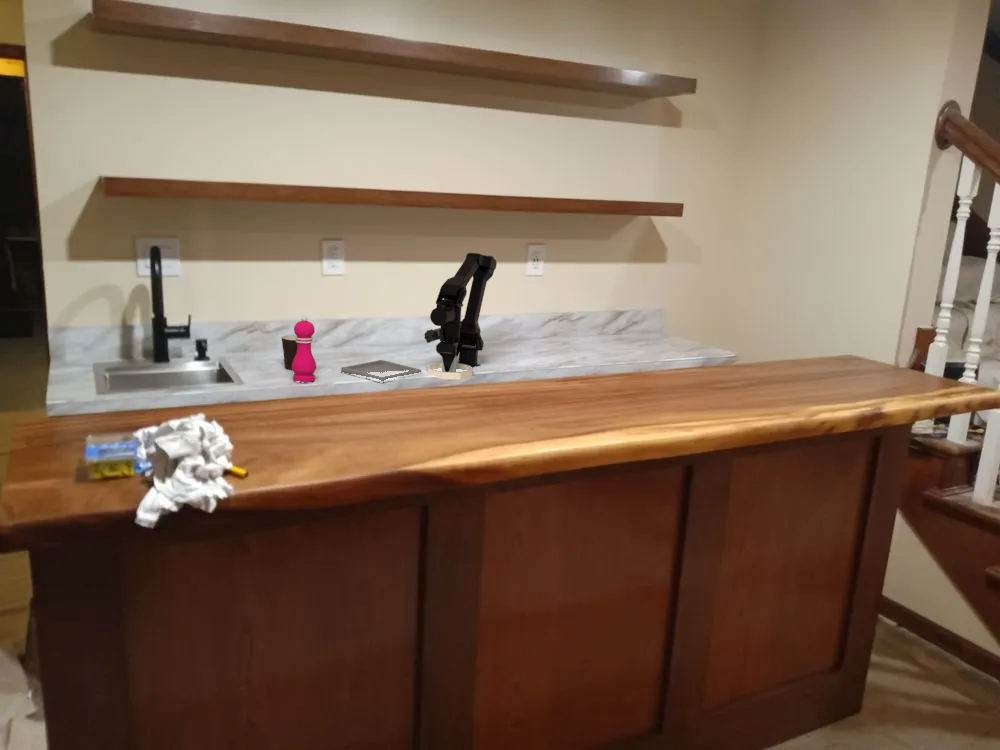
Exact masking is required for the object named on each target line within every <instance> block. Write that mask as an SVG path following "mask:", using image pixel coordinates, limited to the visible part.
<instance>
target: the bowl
mask: <svg viewBox="0 0 1000 750" xmlns="http://www.w3.org/2000/svg"><path fill="white" fill-rule="evenodd" d="M442 367H443V361H437V362H432V363H427V364H426V367H425V368H426V369H425V371H427V372H426V374H427V373H428V374H431V375H434V376H436V377H437V379H440V380H465V379H468V378H472V377H473V372H474V371H473V367H472V368H471V366H469V365H465V364H460V363H459V362H457V363H456V369H462V370H467V371H463V372H441V371H437V370H433V369H438V368H442ZM436 377H435V378H436Z"/></svg>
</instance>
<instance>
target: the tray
mask: <svg viewBox="0 0 1000 750" xmlns="http://www.w3.org/2000/svg"><path fill="white" fill-rule="evenodd" d="M340 369H341V370H340V373H342V372H344V373H343V374H345V373H349V374H356V375H361V376H366V377H372V378H376V379H379V380H381V381H384V380H386V379H388V378H393V377H397V376H404V375H409V374H414V373H419V372H421V373H422V369H421V368H416V367H412V366H408V365H404V364H400V363H395V362H392V361H388V360H384V359H378V360H372V361H367V362H363V363H357V364H351V365H348V366H342V367H341V368H340ZM404 370H405V371H406V370H409V371H408V372H404V373H399V374H395V375H390V376H385V377H379V376H375V375H371V374H368V373H370V372H380V373H381V372H382V373H383V372H385V371H386V372H387V371H404ZM367 372H368V373H367ZM349 374H348V375H349Z"/></svg>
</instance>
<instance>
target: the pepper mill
mask: <svg viewBox="0 0 1000 750" xmlns="http://www.w3.org/2000/svg"><path fill="white" fill-rule="evenodd" d="M315 330H316V329H315V325H314V324H313V323H312V322H310V321H308V317H307V316H306V315H302V316H301V319H300V321H298V322H296V323H295V325H294V327H293V331H294V335H297V337H296V342H297V353H296V356H295V358H294V360H293V362H292V370H291V371H293V373H294V374H292V375H293V376H292V377H293V379H292V381H293V380H294V381H300V382H312V381H314V382H315V381H316V380H315V374H314V373H315V371H316V370H317V363H316V360H315V358H314V356H313V352H312V343H313V342H314V341H313V339H314V337H313V335H314V334H315ZM294 381H293V382H294ZM312 383H313V382H312Z"/></svg>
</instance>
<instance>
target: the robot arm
mask: <svg viewBox="0 0 1000 750" xmlns="http://www.w3.org/2000/svg"><path fill="white" fill-rule="evenodd" d="M496 268H497V260H496V259H495V258H494V256H493V255H486V254H481V253H478V252H467V254H466V256H465V259H464V261H463V262H462V264H461V266H460V267H459V268H458V270H457V272H456V273H455V275H453V276H452V277H449V278H447V279H446V281H445V282H443V284H442V285H441V287H440V288H439V292H438V295H437V298H436V301H435V304H436V307H435V308H433V309H432V310H431V312H430V314H429V315H430V316H429V317H430V322H431V323H432V324H433V325H435V326H437V327H438V328H436V329H435V328H434V329H427V330H426V332H425V333H424V340H425V341H426V343H427V344H428V343H431V342H434V341H438V340H439V342H438V343H437V344H436V345H435V350H436V351H435V352H437V353H436V354H438V355H439V356H441V358H442V362H443V364H444V368H445V372H449V370H450V367H451V365H452V363H453V360H454V358H455V356H457V357H458V363H460V364H465V365H469V366H471V367H472V368H475V366H476V367H479V366H481V363H478V355H479V351H483V349H484V341H483V338H482V336H481V332H482V330H481V328H480V325H479V317H480V314H481V309H482V305H483V304H482V303H483V299H484V296H485V290H486V287H487V283H488V281H489V280H490V279H491V278H492V277H493V275H494V272H495V270H496ZM471 279H472V282H471V286H470V290H469V295H468V300H467V304H466V310H465V313H464V318H463V319H462V307H464V303H463V302H464V301H465V298H466V296H467V293H468V291H467V285H469V284H468V283H469V282H470V281H471Z"/></svg>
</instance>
